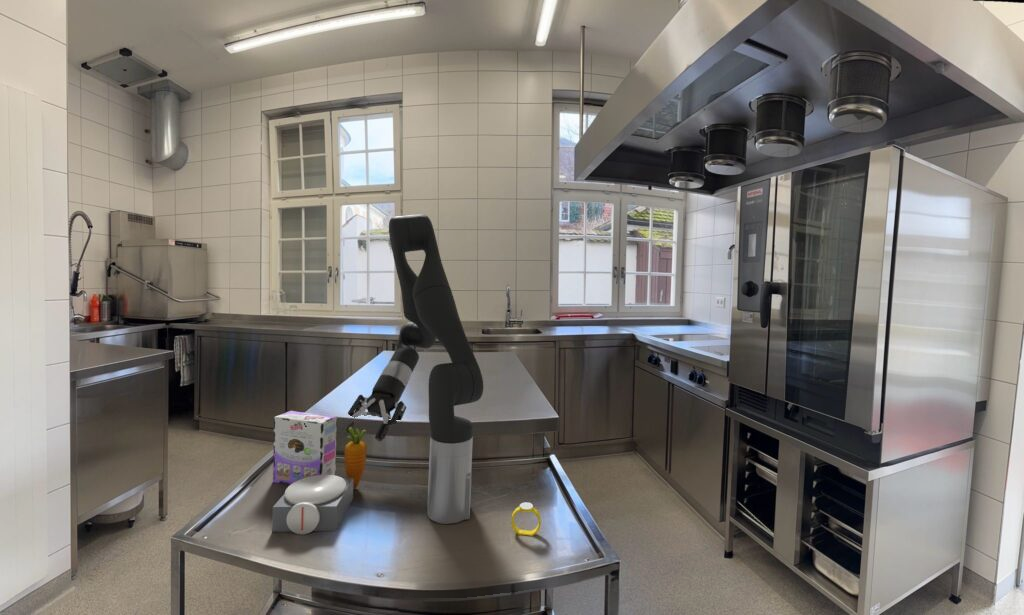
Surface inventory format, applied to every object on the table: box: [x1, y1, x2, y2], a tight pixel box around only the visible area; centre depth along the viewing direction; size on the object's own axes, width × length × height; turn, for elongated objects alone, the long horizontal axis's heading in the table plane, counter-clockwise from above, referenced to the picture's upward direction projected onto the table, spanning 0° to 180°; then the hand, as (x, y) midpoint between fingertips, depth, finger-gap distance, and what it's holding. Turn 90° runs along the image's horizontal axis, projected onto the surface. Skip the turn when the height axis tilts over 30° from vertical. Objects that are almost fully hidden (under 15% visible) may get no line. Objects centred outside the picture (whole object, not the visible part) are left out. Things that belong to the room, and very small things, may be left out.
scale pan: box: [284, 474, 346, 505], centre depth 86 cm, size 12×12×1 cm
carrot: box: [343, 427, 368, 490], centre depth 97 cm, size 5×5×15 cm
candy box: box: [272, 410, 338, 486], centre depth 99 cm, size 14×6×16 cm, turn 77°
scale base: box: [271, 477, 354, 535], centre depth 85 cm, size 12×13×6 cm
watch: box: [510, 502, 542, 537], centre depth 83 cm, size 6×3×6 cm, turn 84°
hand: (363, 437), depth 99 cm, fingers open, 8 cm apart
